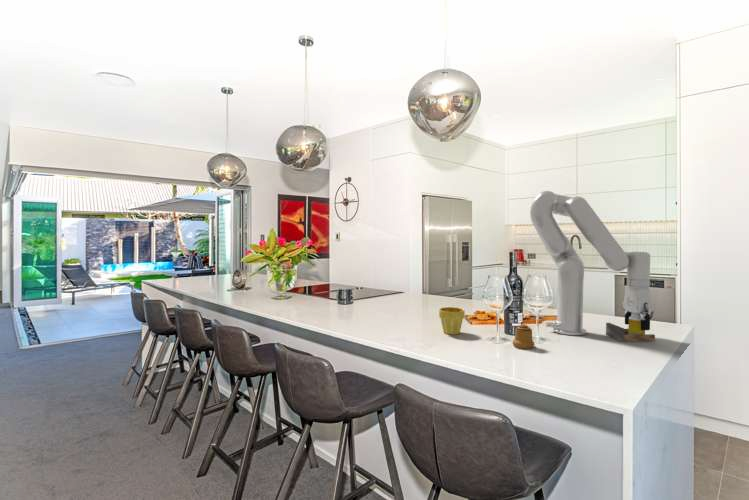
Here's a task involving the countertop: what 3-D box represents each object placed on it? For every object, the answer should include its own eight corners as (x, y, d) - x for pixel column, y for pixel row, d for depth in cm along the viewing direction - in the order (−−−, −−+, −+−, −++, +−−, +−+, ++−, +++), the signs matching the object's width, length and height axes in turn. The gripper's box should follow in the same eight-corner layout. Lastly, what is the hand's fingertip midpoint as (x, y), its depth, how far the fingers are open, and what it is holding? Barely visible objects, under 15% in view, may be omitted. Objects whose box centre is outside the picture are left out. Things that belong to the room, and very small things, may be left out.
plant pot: (453, 337, 164) (453, 312, 163) (433, 332, 171) (433, 309, 171) (469, 332, 170) (469, 309, 170) (449, 328, 178) (449, 305, 178)
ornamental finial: (538, 348, 147) (520, 350, 145) (525, 343, 155) (508, 344, 153) (539, 326, 147) (520, 328, 145) (526, 322, 154) (508, 323, 152)
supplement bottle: (642, 340, 158) (643, 314, 157) (626, 338, 162) (627, 312, 161) (646, 338, 161) (647, 312, 161) (630, 335, 165) (631, 310, 165)
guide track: (637, 334, 167) (637, 322, 166) (654, 341, 157) (655, 328, 156) (605, 334, 166) (606, 322, 166) (620, 341, 156) (621, 328, 156)
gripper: (615, 280, 169) (614, 322, 170) (643, 286, 152) (641, 332, 153) (633, 280, 169) (632, 322, 170) (663, 286, 152) (662, 332, 153)
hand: (636, 327), depth 161 cm, fingers open, 9 cm apart
